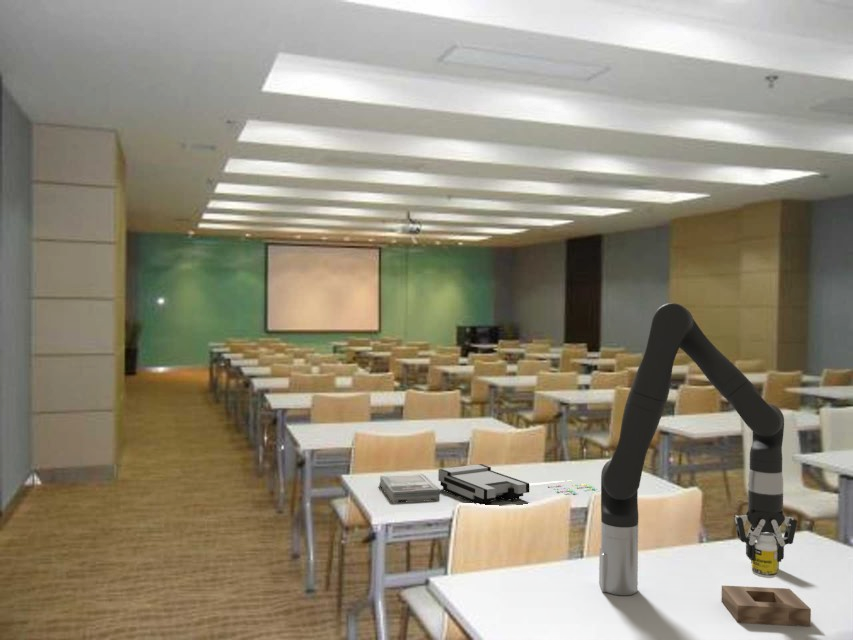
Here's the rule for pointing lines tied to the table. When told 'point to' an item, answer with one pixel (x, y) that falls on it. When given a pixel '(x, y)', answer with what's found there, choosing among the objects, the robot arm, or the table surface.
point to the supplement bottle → (765, 556)
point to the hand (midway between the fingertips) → (764, 559)
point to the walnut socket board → (765, 606)
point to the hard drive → (409, 487)
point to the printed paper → (565, 488)
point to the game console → (480, 484)
